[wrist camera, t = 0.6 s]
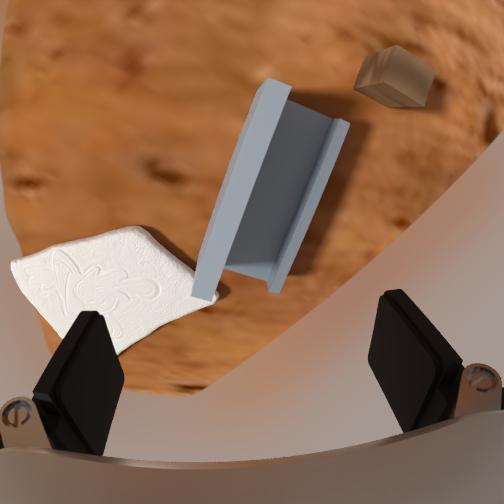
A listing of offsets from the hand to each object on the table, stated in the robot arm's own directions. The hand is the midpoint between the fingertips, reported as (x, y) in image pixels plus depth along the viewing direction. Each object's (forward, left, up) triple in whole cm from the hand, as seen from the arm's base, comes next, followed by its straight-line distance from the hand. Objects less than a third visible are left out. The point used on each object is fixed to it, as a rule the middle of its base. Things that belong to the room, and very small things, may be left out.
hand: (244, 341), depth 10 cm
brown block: (-18, +12, -27) cm, 35 cm away
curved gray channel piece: (-1, +4, -27) cm, 28 cm away
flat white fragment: (+17, -12, -28) cm, 35 cm away
